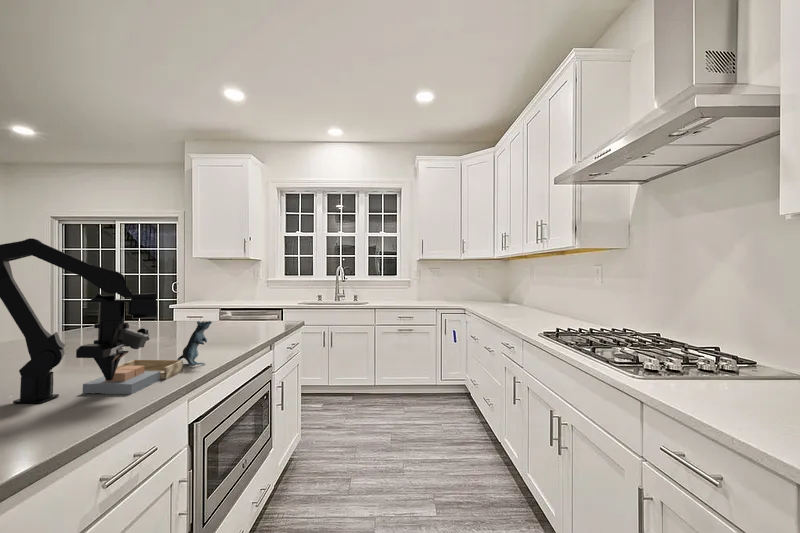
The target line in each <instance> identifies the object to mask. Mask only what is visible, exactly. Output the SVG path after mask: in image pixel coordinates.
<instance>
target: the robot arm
mask: <svg viewBox="0 0 800 533" xmlns="http://www.w3.org/2000/svg"><path fill="white" fill-rule="evenodd" d="M31 256H33V257H35V258H37V259H40V260H42V261H44V262H46V263H49V264H51V265H54V266H56V267H59V268H61V269H63V270H65V271H67V272H70V273H71V274H72V273H73V274H75V275H77V276H79V277H81V278H83V279H85V280H86V281H88V282H89V283H91V285H94V286H95V287H97V288H98V289H100V290H101V291H103V292H105V293H108V294H117V295H119V296H121V297H123V298H129V299H123V298H122V299H121V298H120V299H117V298H116V295H102V294H101V293H100V292H97V293H96V295H94V297H92V298H91V299H90V302H91V303H98V323H94V326H93V327H94V329H97V339H95V340H93V343H88V344H84V345H83V344H82V345H80V346H79V347H78V348H76V350H75V358H76V359H93V360H94V361H95V363H96V365H97V366H98V367H99V369H100V371H101V373H102V375H103V376H104V377H105V378H106V380H107V381H110V380H112V379H113V377H114V374H115V371H116V369H117V366H118V365H119V363H120V361H121V359H122V357H124V356H125V355H126V354H128V353H129V350H124V347H129V348H130V349H133V350H139V349H140V348H144V347H145V345H146V342H147V341H149V340H150V337H149V336H150V334H149V329H148V328H146V327H140V328H139V329H131V328H130V325H129V322H125V315H126V312H125V311H126V303H127V316H130V317H131V316H132V320H136V319H137V320H142V319H157V316H158V305H157V293H155V292H151V293H150V292H149V293H133V291H132V290H130V288H128V286H127V280H126V277H125V275H124V274H123V273H121V272H119V271H117V270H112V269H109V268H105V267H102V266H97V265H94V264H90V263H88V262H87V261H84V260H82V259H79V258H77V257H74V255H70V254H68V253H66V252H63V251H62V250H59V249H56V248H55V247H52V246H50V245H47V244H46V243H43V242H42V241H41V240H39V239H37V238H33V237H32V238H26V239H25V240H19V241H13V242H8V243H3V244H0V300H1V301H2V304H3V305H4V307H5V308H6V309H7V310H8V313H9V314H10V316H11V318H12V319H13V321H14V322H15V323H16V325H17V328H18V329H19V331H20V332H21V333H22V335H23V337H24V339H25V343H26V344H25V345H26V348H27V352H28V354H29V357H30V360H29V361H27V363H26V362H25V364H24V365H23V366H22V367H21V368H20V369H19V370H18V372H19V374H20V387H19V388H20V390H19V391H20V392H19V398H17V399H15V400H13V401H12V404H42V403H45V402H47V401H50V400H53V399H55V398H57V397H59V396H60V395H59V393H58V394H57V393H54V371H52V370H53V369H54V368H55V367H57V366H58V365H59V364H60V363H61V361H63V359H64V357H65V354H66V353H65V347H66V344H65V343H64V342H62V340H61V338H60V335H59V333H58V331H56V332H54V333H52V334H51V333H50V332H48V331H47V330H46V328H44V326H43V324H42V323H41V321H40V320H39V318H38V316H37V315H36V313H35V311H34V310H33V308H32V307H31V305H30V303H29V301H28V300H27V298H26V297H25V295H24V293H23V292H22V290H21V288H20V287H19V285H18V283H17V282H16V280H15V278H14V277H13V272H12V268H11V266H12V265H11V263H10V262H12V261H16V260H20V259H23V258H28V257H31ZM53 393H54V394H53Z"/></svg>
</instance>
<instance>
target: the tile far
mask: <svg viewBox="0 0 800 533" xmlns="http://www.w3.org/2000/svg"><path fill="white" fill-rule="evenodd" d="M117 370H135V377H136V376H138V375H140V374H143V373H144V371H145V366H124V367H121V368H119V369H117Z"/></svg>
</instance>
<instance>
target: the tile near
mask: <svg viewBox="0 0 800 533" xmlns="http://www.w3.org/2000/svg"><path fill="white" fill-rule="evenodd" d="M133 377H135V370H117V369H116V371H115V374H114V377H113V379H112V380H110V381H126V380H129V379H131V378H133ZM105 381H107V380H106V378H105Z"/></svg>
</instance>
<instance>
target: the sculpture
mask: <svg viewBox="0 0 800 533" xmlns="http://www.w3.org/2000/svg"><path fill="white" fill-rule="evenodd" d="M196 324H197V325H196V328H195V330H194V331H193V332H192V333H191V335H190V338H189V340H188V343H187V344H186V346H185V347H184V348H183V350H182V354H181V355H179V357H178V358H176V360H183V359H185V360H186V361H187V363H183V366H184V367H189V366H196V365H205V364H206V363H205V362H198V361H195V360H196V359H197V358H198V356H199V350H198V346H200V345H205V343H208V339H207V338H206V336H205V334H204V332H205V331H206V330H208V329H209V328H210V326H211V325H212V324H213V322H212V321H211V320H210V321H209V320H208V321H205V320H203V321H202V322H201V321H199V320H197V322H196Z"/></svg>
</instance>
